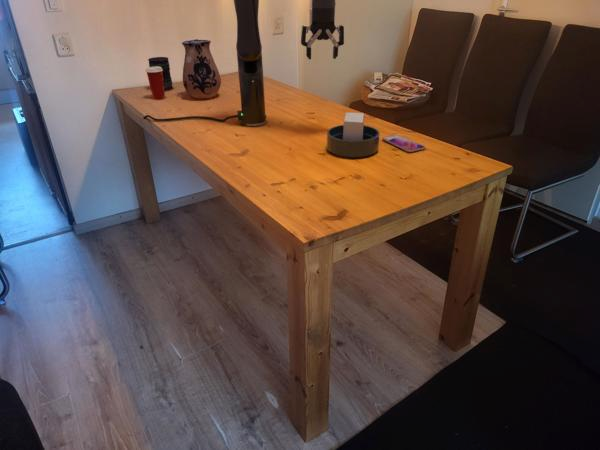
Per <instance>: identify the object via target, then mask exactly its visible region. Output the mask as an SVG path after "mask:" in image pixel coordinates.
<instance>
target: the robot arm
mask: <svg viewBox="0 0 600 450" xmlns="http://www.w3.org/2000/svg"><path fill="white" fill-rule="evenodd" d="M233 4H234V9H235V14H236V15H235V16H236V43H235V44H236V45H235V50H236V57H237V58H236V59H237V71H238V72H237V73H238V83H239V94H240V106H241V110H236V111H237V114H234V115H230V116H226V117H225V118H217V117H212V116H205V115H203V116H202V115H189V116H188V115H187V116H180V117H168V118H156V117H153V116H152V115H149V114H147V115H145V116H143V119H142V120H146V119H147V118H148V119H150V120H153V121H155V122H169V121H179V120H181V121H182V120H189V119H190V120H191V119H203V120H212V121H216V122H221V123H223V122H226V121H228V120H230V119H235V118H237V122H242V123H241V124H242V126H243V127H259V126H260V127H261V126H263V125H265V124H267V115H266V97H265V96H266V95H265V81H264V67H263V53H262V52H263V51H262V50H263V45H262V41H261V34H260V29H259V5H260V0H233ZM336 4H337V3H336V0H311V23H310V25H309V26H308V25H301V33H300V34H301V35H300V45H302V46H304V47H305V48H306V53H305V54H306V58H307V59H308V60H312V45H313V44H314V43H315V42H316V40H318V41H322V40H323V41H328V40H330V42H331V44H332V45H333V46H332V59H333V60H336V59H337V58H338V56H339V47H341V46H344V44H345V26H344V25H342V24H340V25H335V19H336V18H335V16H336V15H335V14H336ZM309 31H310V33H311V34H312V35H311V36H310V37H309V39H308V41H307V34H308V33H309ZM335 32H337V34H338V41H337V40H336V38H335V36H334V35H333V34H334V33H335Z"/></svg>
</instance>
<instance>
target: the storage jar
mask: <svg viewBox="0 0 600 450" xmlns="http://www.w3.org/2000/svg"><path fill="white" fill-rule="evenodd" d="M147 61H148V67H154V66H158V67H161V68H162V70H163V71H162V73H163V82H164V91H165V92H168V91H173V89H174V87H173V80H172V79H173V78H172V75H171V67H170V61H169V57H168V56H156V57H149V58H147Z"/></svg>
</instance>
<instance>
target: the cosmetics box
mask: <svg viewBox="0 0 600 450" xmlns="http://www.w3.org/2000/svg"><path fill="white" fill-rule="evenodd" d="M342 125H343V140H348V141H361V140H363V127H364V125H365V113H364V112H345V116H344V119H343V124H342Z"/></svg>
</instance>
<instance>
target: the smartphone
mask: <svg viewBox="0 0 600 450" xmlns="http://www.w3.org/2000/svg"><path fill="white" fill-rule="evenodd" d="M381 140H382V141H384V142H386V143H388V144H390V145H392V146H395V147H397V148H398V149H400V150H403V151H405V152H407V153H413V152H417V151H422V150H425V149H426V146H424V145H422V144H420V143H417V142H415V141H413V140H412V139H411V140H410V139H408V138H406V137H404V136H401V135H400V134H395V135H394V134H393V135H388V136H383V137H382V138H381Z"/></svg>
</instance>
